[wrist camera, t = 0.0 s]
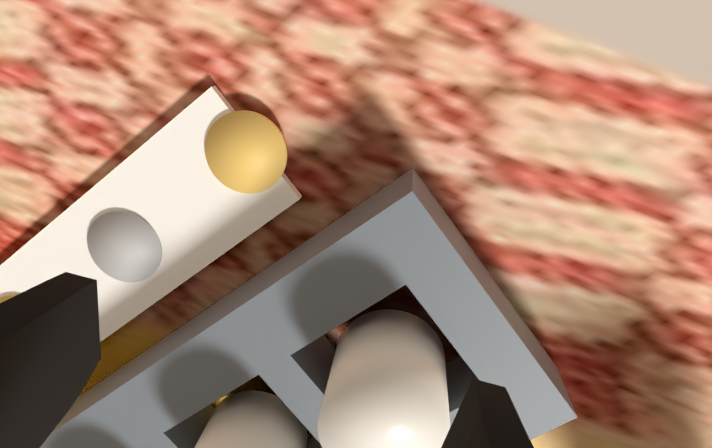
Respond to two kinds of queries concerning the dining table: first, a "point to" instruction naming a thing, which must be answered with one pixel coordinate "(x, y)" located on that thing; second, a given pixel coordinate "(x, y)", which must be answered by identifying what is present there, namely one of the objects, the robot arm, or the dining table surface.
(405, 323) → the button
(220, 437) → the button mid
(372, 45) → the dining table surface
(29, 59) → the dining table surface
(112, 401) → the board
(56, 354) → the robot arm
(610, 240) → the dining table surface
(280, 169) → the pattern card
